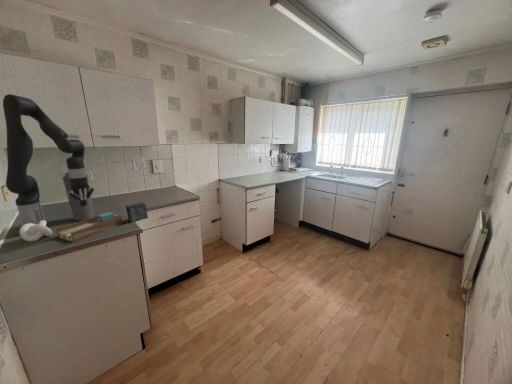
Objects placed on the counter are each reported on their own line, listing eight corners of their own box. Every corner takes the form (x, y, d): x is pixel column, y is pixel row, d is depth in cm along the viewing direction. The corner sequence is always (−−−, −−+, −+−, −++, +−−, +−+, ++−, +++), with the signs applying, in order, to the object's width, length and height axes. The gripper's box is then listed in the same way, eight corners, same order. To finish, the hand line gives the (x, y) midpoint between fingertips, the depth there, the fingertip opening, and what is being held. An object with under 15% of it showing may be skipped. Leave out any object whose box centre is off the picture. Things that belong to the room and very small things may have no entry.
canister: (68, 222, 134) (55, 169, 125) (78, 215, 146) (67, 166, 137) (91, 220, 138) (79, 168, 129) (99, 214, 149) (89, 166, 140)
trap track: (58, 237, 115) (56, 229, 114) (107, 219, 139) (106, 213, 138) (74, 242, 110) (71, 233, 109) (122, 223, 134) (121, 216, 133)
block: (98, 221, 129) (97, 215, 128) (110, 217, 135) (109, 211, 134) (103, 222, 127) (102, 216, 126) (115, 219, 133) (114, 213, 132)
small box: (144, 215, 147) (142, 201, 144) (148, 218, 143) (146, 203, 140) (127, 220, 139) (125, 205, 136) (131, 222, 135) (129, 207, 132)
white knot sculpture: (60, 232, 120) (57, 218, 118) (40, 243, 109) (36, 227, 107) (40, 233, 120) (36, 218, 118) (18, 243, 109) (13, 227, 106)
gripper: (87, 174, 122) (92, 202, 126) (59, 177, 110) (66, 208, 114) (95, 175, 119) (100, 203, 124) (67, 179, 107) (74, 210, 112)
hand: (83, 206), depth 119 cm, fingers closed
